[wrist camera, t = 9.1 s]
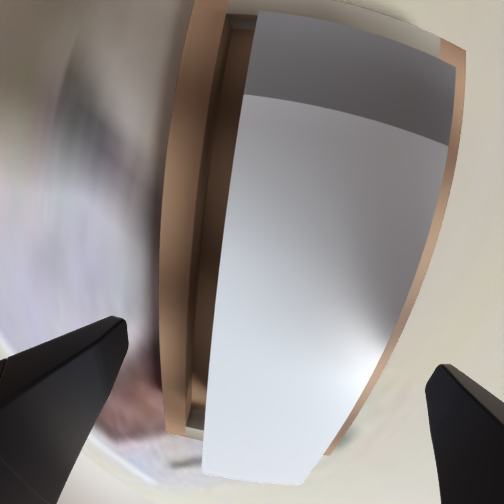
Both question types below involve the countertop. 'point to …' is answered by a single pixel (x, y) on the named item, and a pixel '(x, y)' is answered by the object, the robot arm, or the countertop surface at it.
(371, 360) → the white tall block
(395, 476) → the countertop surface
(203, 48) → the wooden tray
